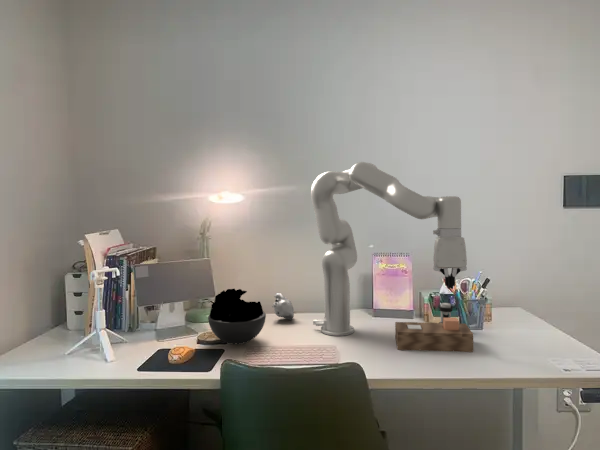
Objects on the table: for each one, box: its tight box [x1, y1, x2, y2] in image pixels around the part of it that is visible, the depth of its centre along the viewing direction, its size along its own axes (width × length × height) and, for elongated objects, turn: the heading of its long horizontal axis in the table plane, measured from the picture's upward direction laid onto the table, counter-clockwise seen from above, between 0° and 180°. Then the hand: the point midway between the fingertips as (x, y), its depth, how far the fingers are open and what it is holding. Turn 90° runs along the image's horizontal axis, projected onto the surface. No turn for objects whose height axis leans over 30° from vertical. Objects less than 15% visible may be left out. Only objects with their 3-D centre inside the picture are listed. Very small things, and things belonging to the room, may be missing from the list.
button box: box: [394, 321, 474, 353], centre depth 159 cm, size 24×12×6 cm, turn 82°
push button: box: [437, 302, 454, 323], centre depth 175 cm, size 7×5×10 cm
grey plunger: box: [407, 325, 422, 330], centre depth 159 cm, size 4×4×6 cm
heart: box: [271, 292, 295, 321], centre depth 191 cm, size 10×10×12 cm
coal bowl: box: [207, 288, 267, 345], centre depth 163 cm, size 20×20×19 cm
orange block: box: [443, 317, 460, 330], centre depth 158 cm, size 4×4×6 cm
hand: (450, 287), depth 156 cm, fingers closed
